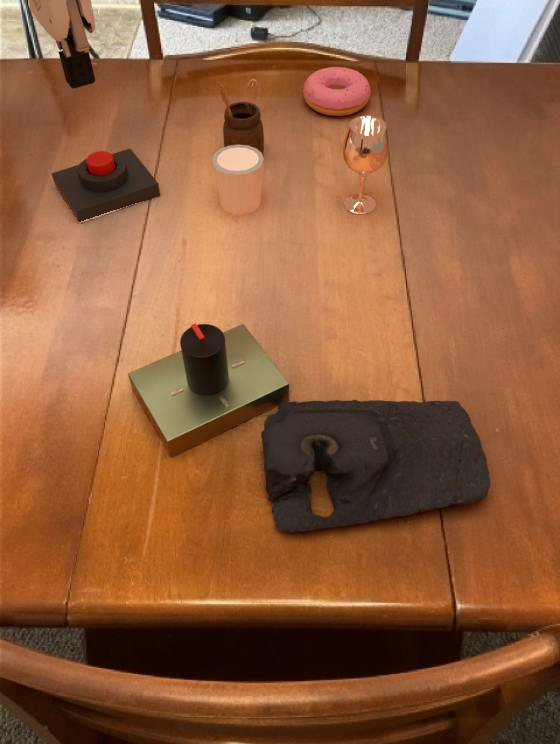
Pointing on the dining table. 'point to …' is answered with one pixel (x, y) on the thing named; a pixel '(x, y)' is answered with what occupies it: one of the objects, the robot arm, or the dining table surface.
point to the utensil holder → (242, 122)
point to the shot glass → (239, 178)
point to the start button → (100, 163)
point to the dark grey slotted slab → (370, 460)
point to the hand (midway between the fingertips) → (81, 82)
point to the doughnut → (336, 91)
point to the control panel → (212, 411)
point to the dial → (205, 358)
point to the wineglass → (364, 157)
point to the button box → (106, 186)
